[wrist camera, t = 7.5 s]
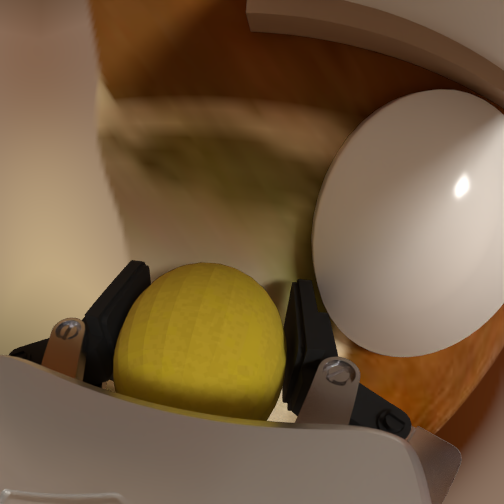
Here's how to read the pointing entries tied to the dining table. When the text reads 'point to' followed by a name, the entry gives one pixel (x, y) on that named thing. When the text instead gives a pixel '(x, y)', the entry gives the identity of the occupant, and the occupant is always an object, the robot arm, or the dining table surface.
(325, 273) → the white round disc
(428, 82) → the dining table surface
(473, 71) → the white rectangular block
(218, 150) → the dining table surface
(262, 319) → the lemon
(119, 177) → the dining table surface
